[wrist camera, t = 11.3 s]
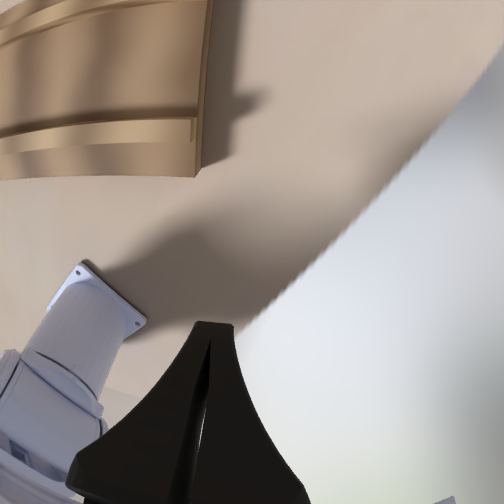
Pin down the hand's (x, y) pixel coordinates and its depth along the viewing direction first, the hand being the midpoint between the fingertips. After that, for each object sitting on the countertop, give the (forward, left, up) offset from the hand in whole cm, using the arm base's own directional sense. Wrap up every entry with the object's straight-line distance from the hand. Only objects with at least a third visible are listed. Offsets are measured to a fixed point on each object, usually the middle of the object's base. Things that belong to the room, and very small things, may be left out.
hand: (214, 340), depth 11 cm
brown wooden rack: (-3, +18, -10) cm, 21 cm away
